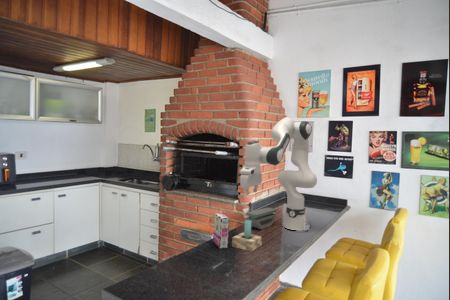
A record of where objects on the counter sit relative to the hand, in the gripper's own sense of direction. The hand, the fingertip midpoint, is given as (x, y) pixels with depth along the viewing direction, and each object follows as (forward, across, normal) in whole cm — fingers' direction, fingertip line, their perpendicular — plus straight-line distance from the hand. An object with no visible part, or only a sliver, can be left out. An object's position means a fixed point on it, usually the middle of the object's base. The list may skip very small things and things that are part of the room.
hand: (251, 193), depth 171 cm
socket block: (+27, +9, +3) cm, 29 cm away
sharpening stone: (+29, -29, -7) cm, 42 cm away
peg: (+27, +9, +3) cm, 29 cm away
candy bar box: (+27, +17, -9) cm, 33 cm away
